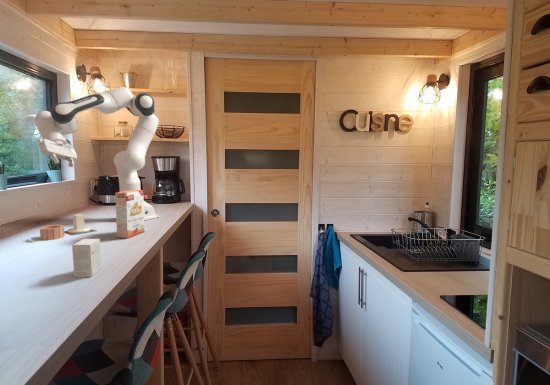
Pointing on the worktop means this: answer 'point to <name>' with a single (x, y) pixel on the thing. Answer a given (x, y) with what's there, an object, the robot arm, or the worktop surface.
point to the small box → (86, 257)
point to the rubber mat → (80, 233)
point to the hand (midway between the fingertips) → (64, 164)
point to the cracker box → (129, 213)
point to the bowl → (52, 232)
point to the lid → (78, 225)
